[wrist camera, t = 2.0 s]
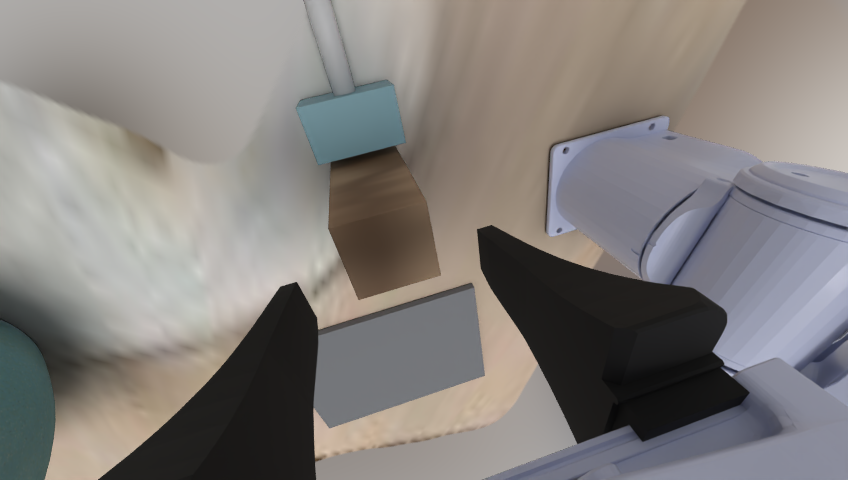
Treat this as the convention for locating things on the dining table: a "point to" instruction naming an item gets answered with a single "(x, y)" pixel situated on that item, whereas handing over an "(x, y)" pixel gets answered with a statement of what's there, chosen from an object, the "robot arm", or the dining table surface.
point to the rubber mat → (397, 355)
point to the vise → (346, 101)
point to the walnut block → (380, 223)
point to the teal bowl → (24, 407)
